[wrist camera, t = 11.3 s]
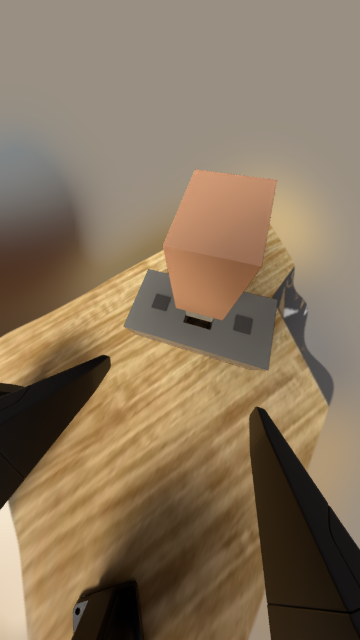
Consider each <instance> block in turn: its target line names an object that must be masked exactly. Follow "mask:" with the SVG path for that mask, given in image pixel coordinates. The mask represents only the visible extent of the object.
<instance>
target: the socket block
mask: <svg viewBox="0 0 360 640" xmlns="http://www.w3.org/2000/svg"><path fill="white" fill-rule="evenodd" d="M277 301H278V300H276V299H272V298H268V297H263V296H259V295H255V294H251V293H247V292H243V293H242V294H241V296H240V297H239V298H238V300H237V301H236V303H235V304H234V305H233V307H232V308H231V309H230V311H229V312H228V313H227V315H226V316H225V318H224V319H223V320H219V319H215V318H214V319H213V321H212V322H210V325H209V329H205V328H202V327H198V326H195V325H191V324H188V323H187V320H188V317H189V316H187V315H186V311H185V310H182V309H178V308H176V306H175V301H174V296H173V292H172V287H171V282H170V277H169V274H167V273H163V272H158V271H154V270H150V269H148V271H147V273H146V276H145V278H144V280H143V283H142V285H141V287H140V289H139V292H138V294H137V296H136V299H135V301H134V303H133V306H132V308H131V310H130V313H129V315H128V317H127V319H126V322H125V324H124V327H125V328H127V329H128V330H130V331H132V332H133V333H135V334H136V335H140V336H143V337H146V338H149V339H153V340H156V341H159V342H162V343H165V344H169V345H172V346H175V347H178V348H182V349H185V350H188V351H191V352H195V353H198V354H201V355H204V356H208V357H211V358H214V359H217V360H221V361H224V362H227V363H230V364H234V365H237V366H240V367H243V368H247V369H250V370H268V369H269V362H270V354H271V346H272V339H273V331H274V324H275V316H276V308H277Z"/></svg>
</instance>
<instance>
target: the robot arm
mask: <svg viewBox="0 0 360 640" xmlns="http://www.w3.org/2000/svg"><path fill="white" fill-rule="evenodd" d="M110 367H111V362H110V357H109V356H107V355H101V356H99V357H97V358H94V359H92V360H89V361H87V362H85V363H82V364H80V365H77V366H75V367H73V368H70V369H68V370H65V371H63V372H61V373H58V374H56V375H53V376H51V377H49V378H46V379H44V380H41V381H39V382H37V383H34V384H32V385H29V386H27V387H25V388H22V389H20V390H17V391H15V392H12V393H10V394H7V395H5V396H2V397H0V509H1V508H2V507H3V506H4V504H5V503H6V502H7V501H8V499H9V498H10V497H11V496H12V494H13V493H14V492H15V491H16V489H17V488H18V487H19V486H20V485H21V483H22V482H23V481H24V479H25V478H26V477H27V476H28V474H29V473H30V472H31V471H32V469H33V468H34V467H35V466H36V464H37V463H38V462H39V461H40V459H41V458H42V457H43V456H44V454H45V453H46V452H47V451H48V449H49V448H50V447H51V446H52V444H53V443H54V442H55V441H56V439H57V438H58V437H59V436H60V434H61V433H62V432H63V431H64V429H65V428H66V427H67V426H68V425H69V423H70V422H71V421H72V420H73V418H74V417H75V416H76V415H77V413H78V412H79V411H80V410H81V408H82V407H83V406H84V405H85V403H86V402H87V401H88V400H89V398H90V397H91V396H92V395H93V393H94V392H95V391H96V389H97V388H98V386H99V385H100V383H101V382H102V380H103V379H104V377H105V376H106V374H107V373H108V371H109V369H110ZM249 429H250V456H251V465H252V474H253V483H254V492H255V500H256V509H257V518H258V527H259V536H260V544H261V553H262V562H263V571H264V580H265V588H266V597H267V603H268V605H267V607H268V616H269V625H270V634H271V640H360V549H359V548H358V546H357V545H356V543H355V542H354V540H353V539H352V538H351V536H350V535H349V533H348V532H347V530H346V529H345V527H344V526H343V525H342V523H341V522H340V520H339V519H338V517H337V516H336V514H335V513H334V511H333V510H332V508H331V507H330V506H329V505H328V503H327V501H326V500H325V498H324V497H323V495H322V494H321V492H320V491H319V489H318V488H317V486H316V485H315V483H314V482H313V480H312V479H311V477H310V476H309V474H308V473H307V471H306V470H305V468H304V467H303V465H302V464H301V462H300V461H299V459H298V458H297V456H296V455H295V453H294V452H293V451H292V449H291V448H290V446H289V445H288V443H287V442H286V440H285V439H284V437H283V436H282V434H281V433H280V431H279V430H278V428H277V427H276V425H275V424H274V422H273V421H272V419H271V418H270V416H269V415H268V413H267V412H266V411H265V409H263V408H260V407H255V409H254V410H253V411H252V413H251V414H250V417H249ZM130 589H132V590H133V591H131V590H130ZM79 608H80V609H79ZM71 640H144V637H143V629H142V621H141V613H140V605H139V597H138V588H137V583H136V582H135V581H134V580H132V581H129V582H126V583H123V584H120V585H117V586H114V587H111V588H108V589H105V590H102V591H99V592H96V593H93V594H90V595H88V596H85V597H82V598H79V599H78V600H77V602H76V604H75V606H74V609H73V637H72V639H71Z"/></svg>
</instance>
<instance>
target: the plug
mask: <svg viewBox="0 0 360 640" xmlns="http://www.w3.org/2000/svg"><path fill="white" fill-rule="evenodd" d="M276 183H277V180H272V179H264V178H257V177H249V176H241V175H234V174H226V173H218V172H210V171H203V170H195V171H194V173H193V176H192V178H191V180H190V183H189V185H188V187H187V190H186V192H185V195H184V197H183V199H182V202H181V204H180V206H179V209H178V211H177V213H176V216H175V218H174V221H173V223H172V225H171V228H170V230H169V232H168V235H167V237H166V240H165V242H164V244H163V249H164V254H165V258H166V263H167V268H168V273H169V277H170V282H171V287H172V292H173V296H174V301H175V306H176V308H178V309H182V310H185V311H186V315H187V316H190V317H194V318H198V319H201V320H205V321H209V322H212V321H213V319H214V318H215V319H219V320H223V319H224V318H225V316H226V315H227V313H228V312H229V311H230V309H231V308H232V307H233V305H234V304H235V303H236V301H237V300H238V298H239V297H240V296H241V294H242V293H243V292H244V290H245V289H246V287H247V286H248V285H249V283H250V282H251V281H252V279H253V278H254V277H255V275H256V274H257V272H258V271H259V270H260V268H261V267H262V263H263V257H264V251H265V246H266V240H267V234H268V229H269V223H270V218H271V212H272V206H273V200H274V195H275V189H276Z"/></svg>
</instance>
